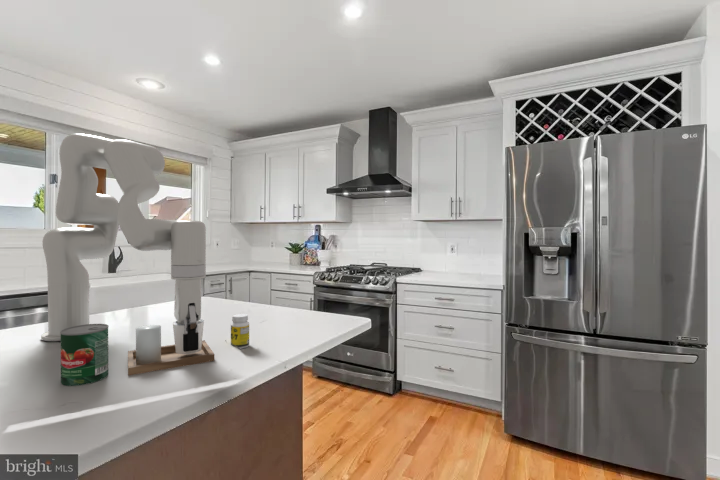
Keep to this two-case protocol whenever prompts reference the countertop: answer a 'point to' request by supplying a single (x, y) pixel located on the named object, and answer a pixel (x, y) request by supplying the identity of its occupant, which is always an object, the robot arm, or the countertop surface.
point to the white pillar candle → (148, 344)
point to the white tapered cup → (179, 333)
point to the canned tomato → (84, 354)
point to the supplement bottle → (240, 331)
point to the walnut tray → (170, 359)
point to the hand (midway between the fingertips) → (188, 345)
